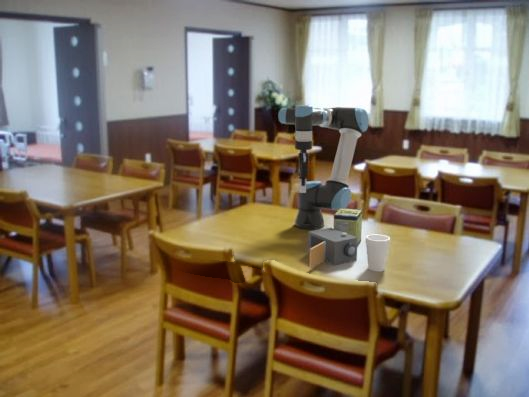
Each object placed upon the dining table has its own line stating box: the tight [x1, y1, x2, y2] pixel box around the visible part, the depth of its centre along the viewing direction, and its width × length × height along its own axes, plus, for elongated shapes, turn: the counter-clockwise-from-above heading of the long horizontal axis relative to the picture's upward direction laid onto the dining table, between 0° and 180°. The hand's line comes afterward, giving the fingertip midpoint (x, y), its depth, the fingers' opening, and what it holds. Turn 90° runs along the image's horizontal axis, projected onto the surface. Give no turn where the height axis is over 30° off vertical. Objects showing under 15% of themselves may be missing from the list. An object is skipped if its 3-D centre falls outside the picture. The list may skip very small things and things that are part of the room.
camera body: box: [307, 227, 358, 266], centre depth 229 cm, size 12×20×11 cm, turn 32°
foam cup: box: [365, 233, 391, 272], centre depth 215 cm, size 10×9×13 cm
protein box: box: [333, 207, 363, 248], centre depth 246 cm, size 10×16×16 cm
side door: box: [308, 241, 326, 269], centre depth 218 cm, size 1×12×8 cm, turn 146°
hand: (302, 192), depth 244 cm, fingers closed
